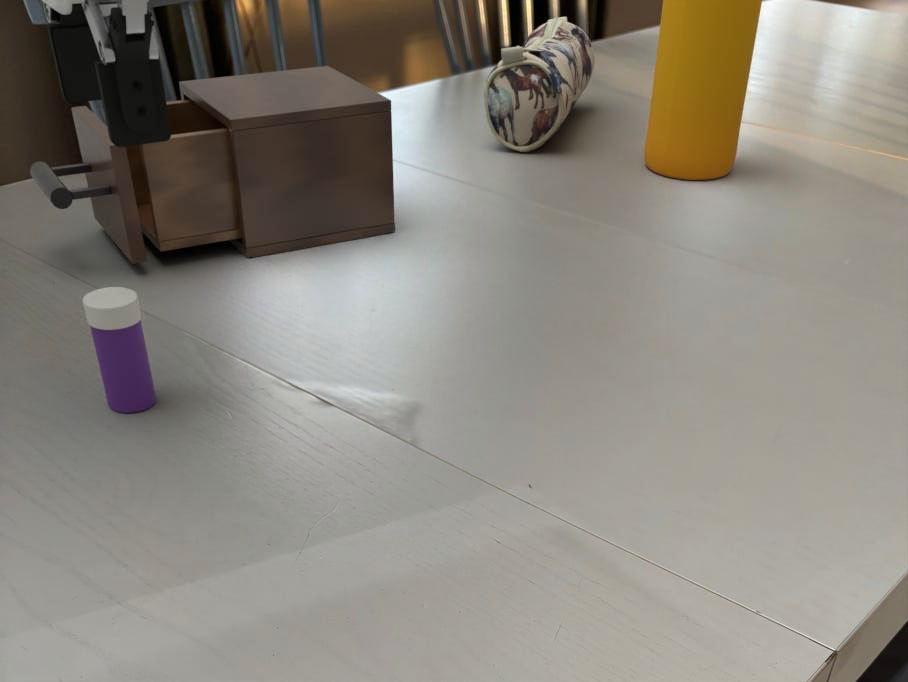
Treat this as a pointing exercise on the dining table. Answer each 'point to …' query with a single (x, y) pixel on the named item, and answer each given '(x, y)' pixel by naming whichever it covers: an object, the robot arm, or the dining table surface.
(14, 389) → the dining table surface
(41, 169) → the drawer
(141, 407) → the glue stick
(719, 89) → the yellow rounded cylinder
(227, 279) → the dining table surface
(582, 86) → the pencil case
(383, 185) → the cabinet
